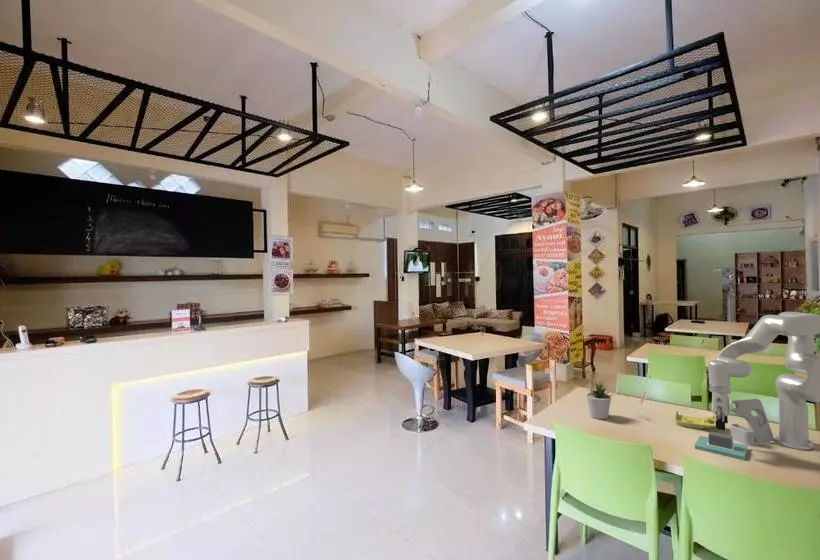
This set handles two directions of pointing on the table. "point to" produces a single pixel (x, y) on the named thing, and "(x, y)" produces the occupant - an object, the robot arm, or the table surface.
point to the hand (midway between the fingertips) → (722, 426)
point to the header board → (721, 448)
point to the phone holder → (751, 423)
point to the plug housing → (720, 440)
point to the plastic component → (695, 421)
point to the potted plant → (599, 402)
